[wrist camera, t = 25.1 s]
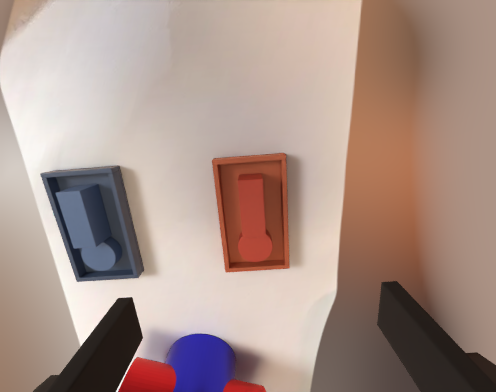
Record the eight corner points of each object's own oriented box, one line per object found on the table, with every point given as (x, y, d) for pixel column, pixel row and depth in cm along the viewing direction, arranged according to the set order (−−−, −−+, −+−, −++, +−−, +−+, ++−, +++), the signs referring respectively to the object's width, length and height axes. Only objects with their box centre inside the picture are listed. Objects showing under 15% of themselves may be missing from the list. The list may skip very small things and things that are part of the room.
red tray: (214, 158, 30) (212, 160, 28) (283, 152, 30) (286, 154, 28) (226, 264, 35) (225, 272, 33) (287, 261, 35) (289, 268, 33)
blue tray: (52, 170, 31) (39, 173, 29) (119, 165, 31) (110, 168, 29) (85, 274, 36) (76, 281, 34) (144, 270, 35) (138, 278, 33)
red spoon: (232, 175, 31) (229, 181, 27) (268, 172, 30) (270, 178, 27) (239, 256, 34) (238, 270, 31) (272, 254, 34) (274, 268, 30)
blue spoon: (70, 186, 31) (47, 193, 28) (104, 183, 31) (86, 190, 28) (94, 264, 35) (77, 280, 31) (125, 262, 34) (111, 278, 31)
